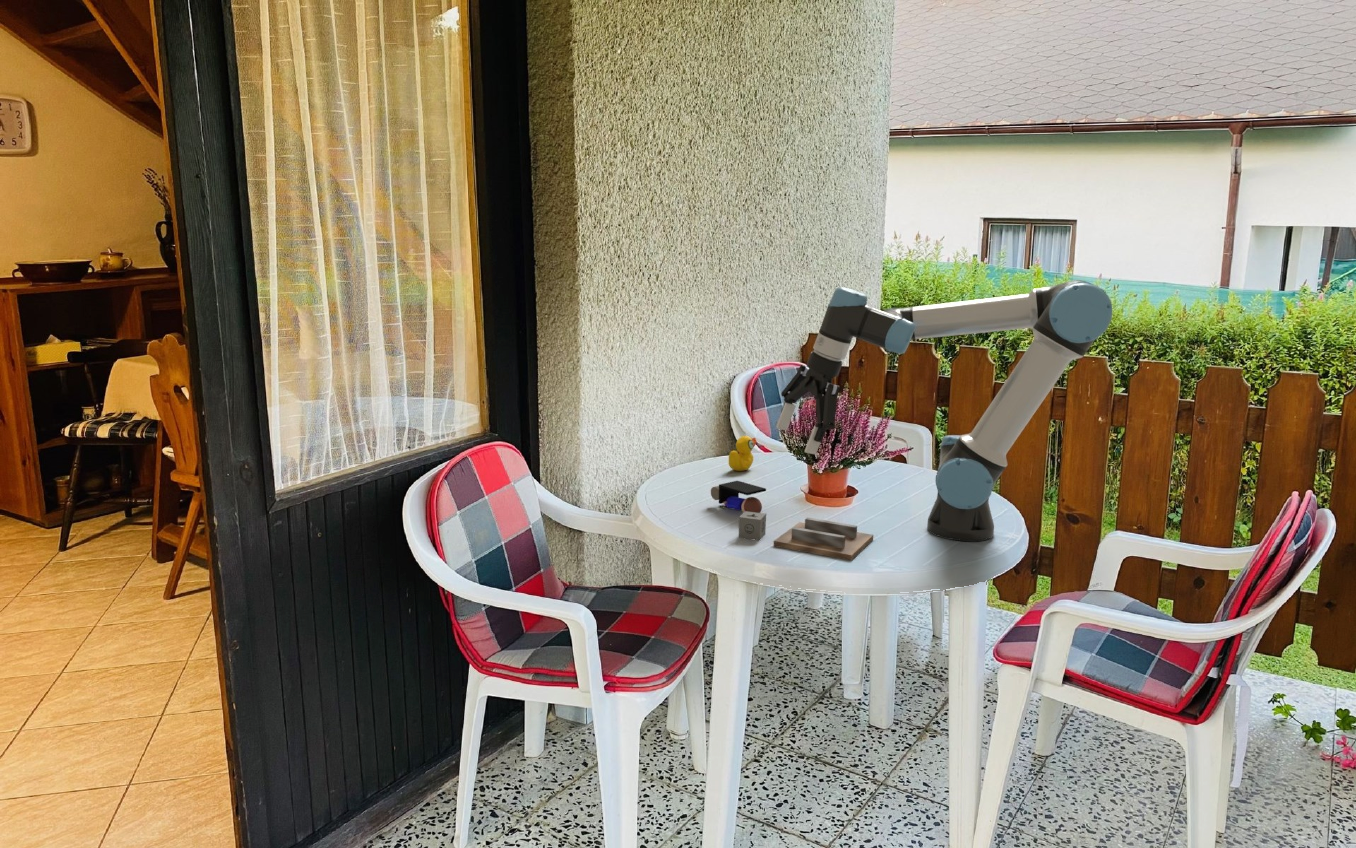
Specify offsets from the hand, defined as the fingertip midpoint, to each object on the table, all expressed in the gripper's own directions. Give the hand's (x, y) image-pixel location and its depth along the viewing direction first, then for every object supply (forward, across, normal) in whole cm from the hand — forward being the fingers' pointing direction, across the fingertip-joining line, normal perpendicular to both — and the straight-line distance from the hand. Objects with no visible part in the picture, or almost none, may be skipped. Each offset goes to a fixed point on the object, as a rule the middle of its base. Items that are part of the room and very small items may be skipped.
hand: (795, 440), depth 217 cm
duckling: (+28, -48, +22) cm, 60 cm away
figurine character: (+26, -13, +1) cm, 29 cm away
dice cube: (+23, +5, -6) cm, 24 cm away
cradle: (+18, +15, +6) cm, 24 cm away
